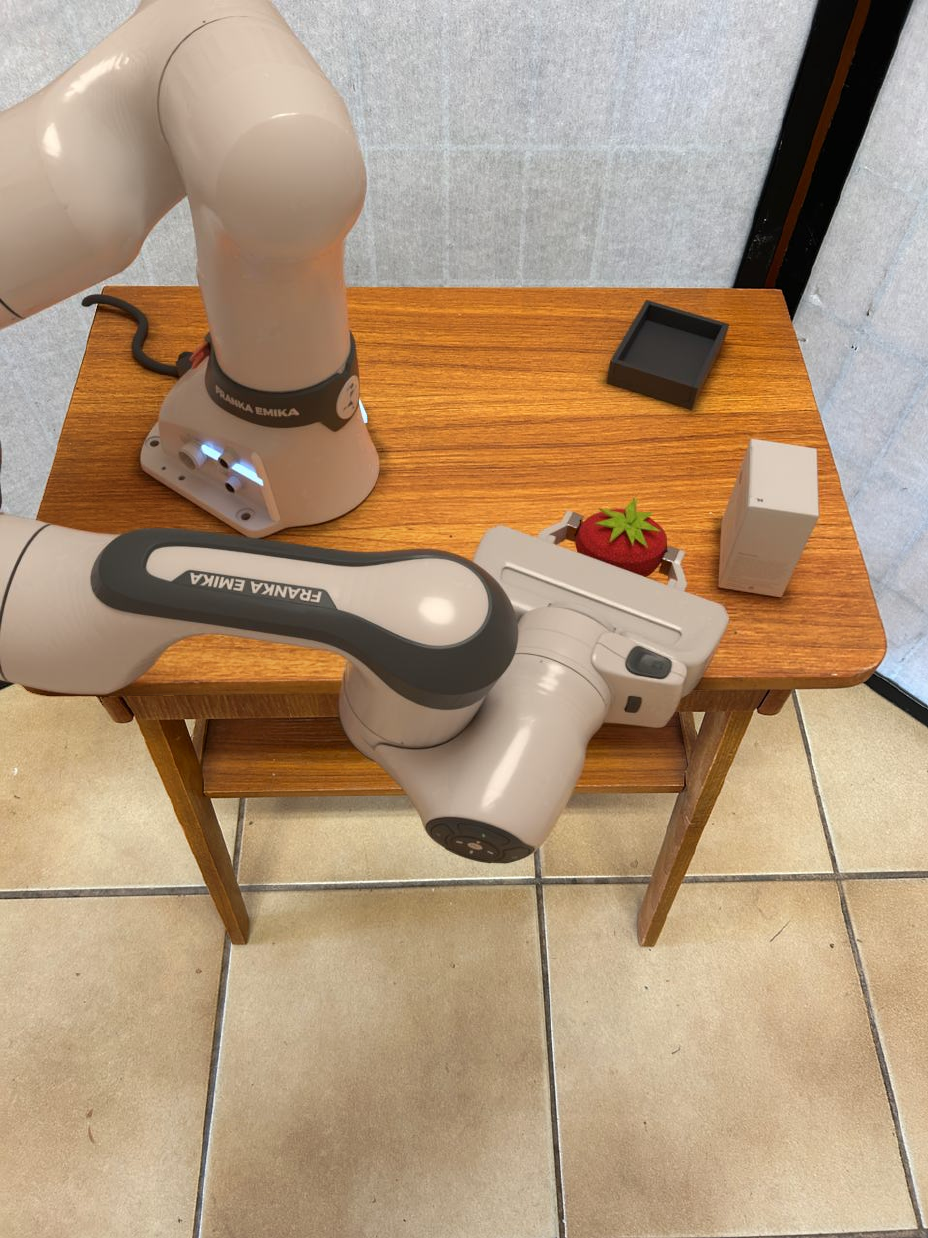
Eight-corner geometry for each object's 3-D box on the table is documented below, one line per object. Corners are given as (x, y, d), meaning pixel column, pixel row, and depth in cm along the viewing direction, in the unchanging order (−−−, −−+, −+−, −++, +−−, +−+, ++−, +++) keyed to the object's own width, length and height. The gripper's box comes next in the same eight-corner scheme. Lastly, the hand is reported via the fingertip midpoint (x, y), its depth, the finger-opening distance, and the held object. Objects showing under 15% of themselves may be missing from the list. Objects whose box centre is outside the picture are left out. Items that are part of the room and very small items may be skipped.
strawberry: (569, 553, 84) (583, 473, 76) (654, 561, 83) (678, 481, 75) (566, 607, 80) (580, 529, 72) (655, 616, 80) (680, 538, 72)
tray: (606, 382, 98) (610, 360, 95) (641, 321, 104) (646, 299, 101) (692, 409, 96) (698, 388, 93) (723, 345, 102) (729, 323, 99)
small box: (781, 600, 82) (821, 518, 73) (715, 588, 82) (747, 506, 74) (782, 531, 86) (819, 446, 78) (720, 520, 87) (750, 435, 78)
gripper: (437, 636, 75) (507, 519, 83) (684, 735, 71) (735, 601, 78) (437, 588, 70) (511, 467, 78) (704, 691, 66) (756, 552, 73)
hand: (625, 535), depth 78 cm, fingers closed on strawberry, 7 cm apart
